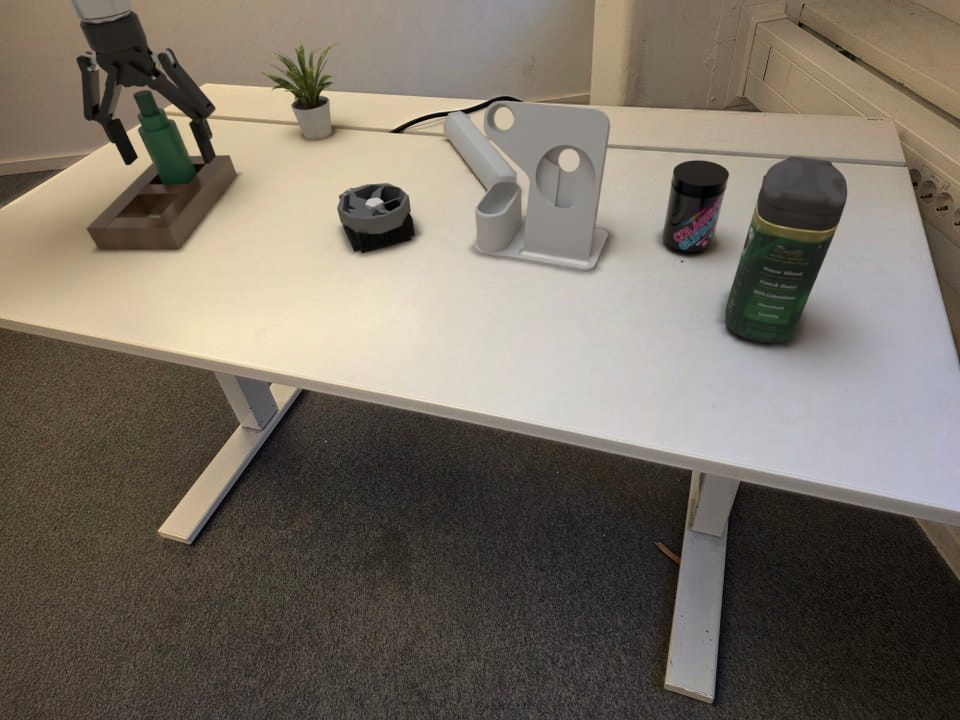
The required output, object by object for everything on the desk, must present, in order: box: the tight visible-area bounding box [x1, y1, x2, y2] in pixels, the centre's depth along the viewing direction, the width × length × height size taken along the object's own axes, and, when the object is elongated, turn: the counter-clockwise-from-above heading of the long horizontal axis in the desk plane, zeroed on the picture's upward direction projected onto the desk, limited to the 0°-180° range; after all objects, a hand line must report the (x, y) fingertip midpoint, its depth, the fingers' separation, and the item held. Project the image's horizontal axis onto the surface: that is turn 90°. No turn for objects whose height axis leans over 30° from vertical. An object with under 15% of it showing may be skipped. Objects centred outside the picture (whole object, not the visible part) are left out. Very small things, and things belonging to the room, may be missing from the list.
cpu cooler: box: [336, 182, 416, 254], centre depth 88 cm, size 10×6×10 cm
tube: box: [442, 110, 518, 191], centre depth 101 cm, size 5×5×25 cm
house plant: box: [260, 41, 339, 141], centre depth 112 cm, size 14×14×16 cm
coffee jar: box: [724, 156, 848, 344], centre depth 65 cm, size 10×8×19 cm
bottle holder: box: [85, 154, 238, 251], centre depth 98 cm, size 13×23×4 cm, turn 175°
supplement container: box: [661, 159, 730, 256], centre depth 80 cm, size 7×7×10 cm
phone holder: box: [474, 100, 611, 272], centre depth 79 cm, size 17×10×18 cm, turn 68°
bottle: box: [132, 89, 197, 185], centre depth 97 cm, size 6×6×17 cm
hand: (171, 160), depth 98 cm, fingers open, 13 cm apart
